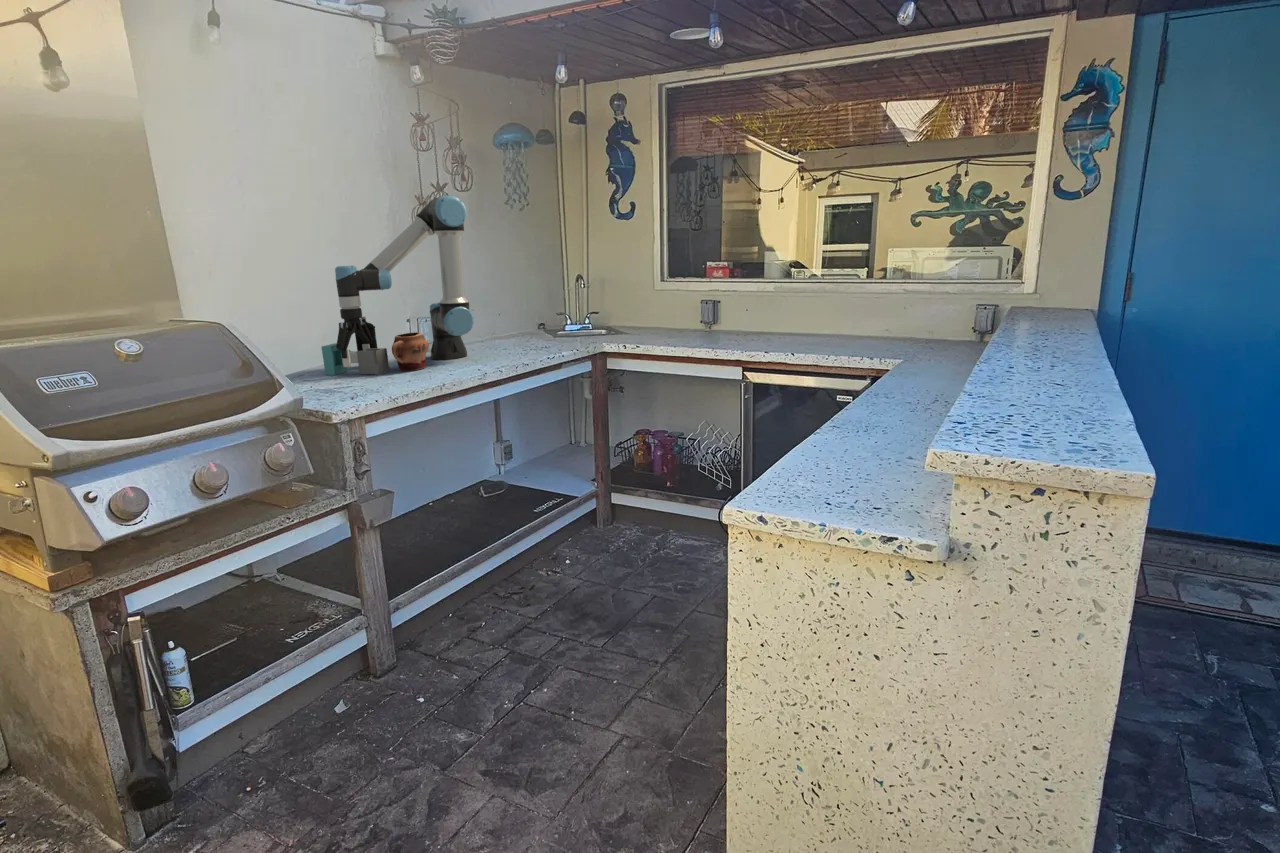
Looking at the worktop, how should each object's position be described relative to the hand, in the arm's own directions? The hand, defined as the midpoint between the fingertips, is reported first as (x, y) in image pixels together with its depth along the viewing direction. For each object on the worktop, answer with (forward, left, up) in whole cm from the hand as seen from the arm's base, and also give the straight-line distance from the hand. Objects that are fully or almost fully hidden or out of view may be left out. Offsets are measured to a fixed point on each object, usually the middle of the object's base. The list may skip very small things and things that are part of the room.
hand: (357, 363), depth 279 cm
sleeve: (-7, 0, -4) cm, 8 cm away
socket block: (+10, 0, -4) cm, 10 cm away
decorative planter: (-18, -7, -4) cm, 20 cm away
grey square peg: (-2, 0, 0) cm, 2 cm away
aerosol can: (+5, -15, -4) cm, 16 cm away
